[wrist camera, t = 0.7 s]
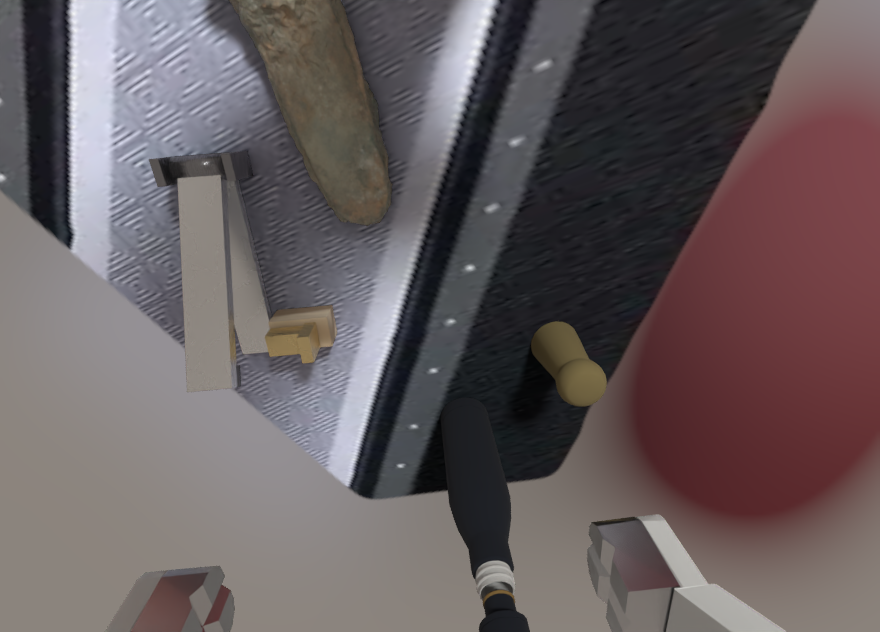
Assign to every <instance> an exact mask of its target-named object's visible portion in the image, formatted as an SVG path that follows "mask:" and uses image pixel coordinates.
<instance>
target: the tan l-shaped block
mask: <svg viewBox="0 0 880 632" xmlns="http://www.w3.org/2000/svg"><path fill="white" fill-rule="evenodd" d="M265 340H266V344H267V348H268V352H269V356H270V357H273V356H284V355H295V354H300V355H301V359H302V363H312V362H314V361H315V359H316V356H317V354H318V351H319V349H320V347H321V346H320V341H319V336H318V331H317V326H316V322H312V323H304V325H303V326H295V327H284V328H273V329H270V330H269V331H268V333H267V334H266V335H265Z"/></svg>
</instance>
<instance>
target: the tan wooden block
mask: <svg viewBox="0 0 880 632" xmlns="http://www.w3.org/2000/svg"><path fill="white" fill-rule="evenodd" d="M312 322H316V326H317V331H318V336H319V341H320V346H321V347H329V346H333V343H334V340H335V337H336V335H337V328H336V323H335V317H334V312H333V306H332V305H327V306H315V307H304V308H292V309H281V310H277V311H276V312H275V314H274V315H273V317H272V318H271V319H270V321H269V322H268V324H269V328H270V329H273V328H284V327H295V326H303V325H304V323H312Z"/></svg>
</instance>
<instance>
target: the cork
mask: <svg viewBox="0 0 880 632" xmlns="http://www.w3.org/2000/svg"><path fill="white" fill-rule="evenodd" d="M531 349H532V353H533V355H534V356H535V358H536V359H537V360H538V361H539V362H540V363H541V364H542V365H543V367H544V368H545V369H546V370H547V371H548V372H549V373H550V374H551V375H552V376H553V378H554V379H555V380H556V386H557V391H558V392H559V394H560V396H561V397H562V398H563V399H564V400H565V401H566V402H568V403H569V404H571V405H575V406H588V405H591V404H593V403H595V402H597V401H598V400H599V399H600V398H601V397H602V396H603V394H604V392H605V389H606V385H607V382H606V376H605V374H604V372H603V370H602V369H601V367H600V366H599V365H597V364H596V363H595V362H593V361H591V360H589V358H588V356H587V354H586V352H585V350H584V348H583V346H582V343H581V341H580V339H579V337H578V335H577V333H576V332H575V330H574V328H573V327H571V326H570V325H569V324H566V323H564V322H552V323H548V324H546V325H544V326H542V327H541V328H540V329H539V330H538V331H537V332H536V333H535V334H534V336H533V338H532V342H531Z"/></svg>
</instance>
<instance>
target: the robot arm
mask: <svg viewBox="0 0 880 632" xmlns="http://www.w3.org/2000/svg"><path fill="white" fill-rule="evenodd" d="M589 536H590V538H591V541H592V545H591V546H590V547H589V548H588V551H587V562H588V568H589V574H590V577H591V581H592V584H593V587H594V589H595V591H596V594H597V596H598V597H599V598H600V599H601V600H602V601H604V602H605V603H606V604H607V613H606V619H607V621H608V624H609V626H610V629H611V631H612V632H786V631H785V630H783V629H782V628H780V627H779V626H778V625H776V624H775V623H773V622H772V621H770V620H769V619H767V618H766V617H764V616H763V615H761V614H760V613H758V612H757V611H755V610H754V609H752V608H751V607H749V606H748V605H746V604H745V603H744V602H742V601H740V600H739V599H738V598H736V597H735V596H733V595H732V594H730V593H729V592H727V591H726V590H724V589H723V588H721V587H720V586H718V585H717V584H708V583H707V581H706V580H705V578H704V577H703V576H702V574H701V573H700V571H699V570H698V568H697V567H696V565H695V564H694V562H693V561H692V559H691V558H690V556H689V555H688V553H687V552H686V550H685V549H684V547H683V546H682V544H681V543H680V541H679V540H678V538H677V537H676V535H675V534H674V532H673V531H672V530H671V528H670V526H669V525H668V524H667V522H666V521H665V519H664V518H663V517H661V516H660V515H650V516H642V517H629V518H621V519H613V520H606V521H598V522H592V523H591V524H590V526H589ZM224 577H225V576H224V574H223V571H222V569H221V567H220V566H212V567H200V568H189V569H176V570H166V571H156V572H146V573H144V574H143V575H142V576H141V577H140V578H139V579H137V581H136V582H135V584H134V585H133V587H132V589H131V590H130V592H129V594H128V595H127V597H126V598H125V600H124V601H123V603H122V605H121V606H120V608H119V610H118V611H117V613H116V614H115V616H114V618H113V619H112V621H111V623H110V624H109V626H108V627H107V629H106V631H105V632H230V630H231V627H232V624H233V617H234V610H235V608H234V598H233V595H232V593H231V590H229V589H228V588H226V587H224V586H223V585H222V582H223V579H224Z"/></svg>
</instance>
